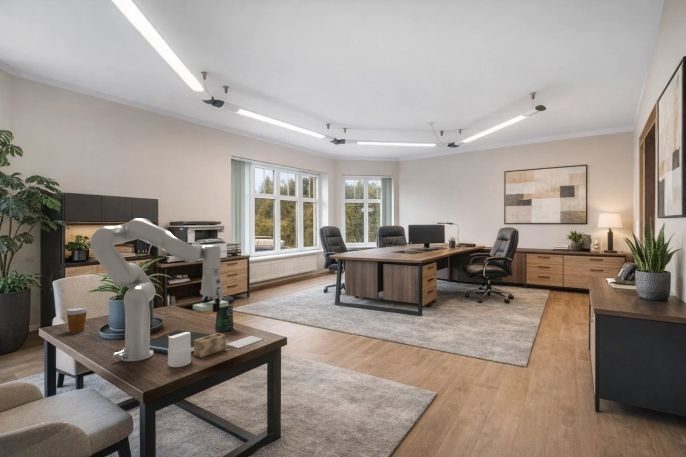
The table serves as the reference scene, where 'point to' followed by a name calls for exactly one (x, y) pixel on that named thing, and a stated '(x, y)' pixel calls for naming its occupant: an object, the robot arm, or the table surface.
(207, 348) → the pencil box
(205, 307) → the lid
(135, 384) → the table surface
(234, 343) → the felt mat
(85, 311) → the disposable coffee cup
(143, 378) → the table surface
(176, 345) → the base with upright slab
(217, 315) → the coffee jar
